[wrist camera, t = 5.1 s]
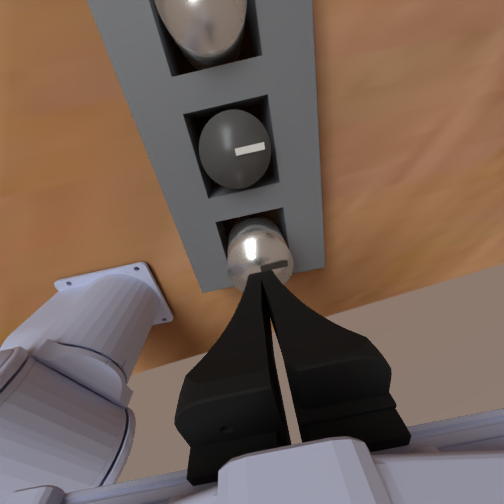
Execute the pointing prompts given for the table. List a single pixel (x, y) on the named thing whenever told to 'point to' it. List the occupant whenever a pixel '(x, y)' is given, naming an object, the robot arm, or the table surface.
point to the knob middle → (234, 149)
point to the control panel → (218, 100)
